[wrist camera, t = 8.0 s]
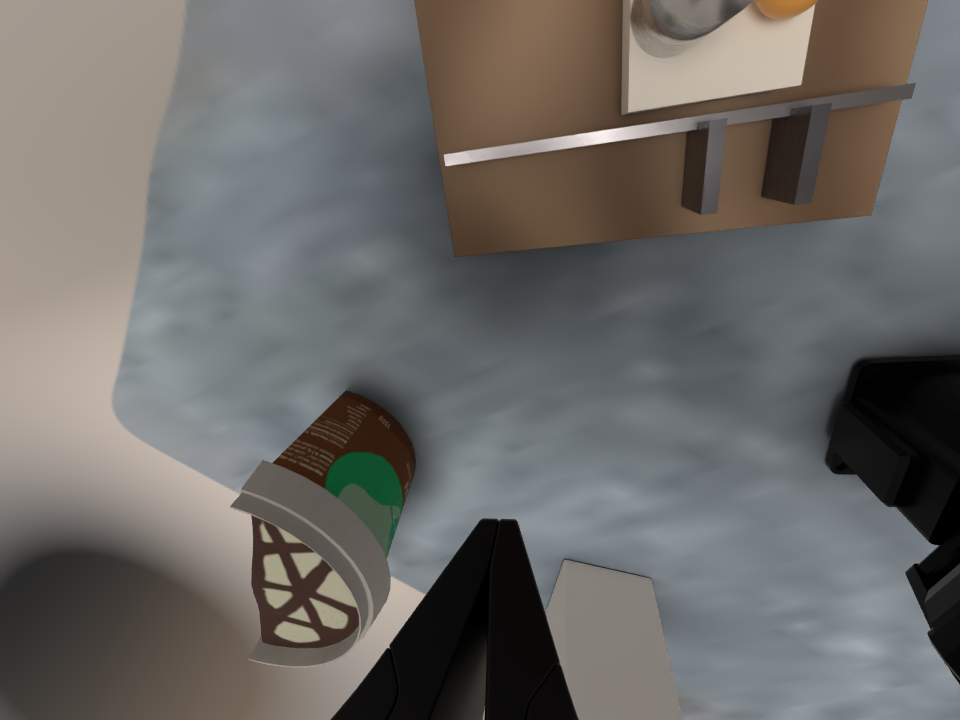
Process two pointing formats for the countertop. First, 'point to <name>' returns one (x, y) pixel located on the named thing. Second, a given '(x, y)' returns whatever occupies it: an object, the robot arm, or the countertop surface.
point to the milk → (611, 645)
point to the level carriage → (710, 50)
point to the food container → (326, 532)
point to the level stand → (649, 127)
